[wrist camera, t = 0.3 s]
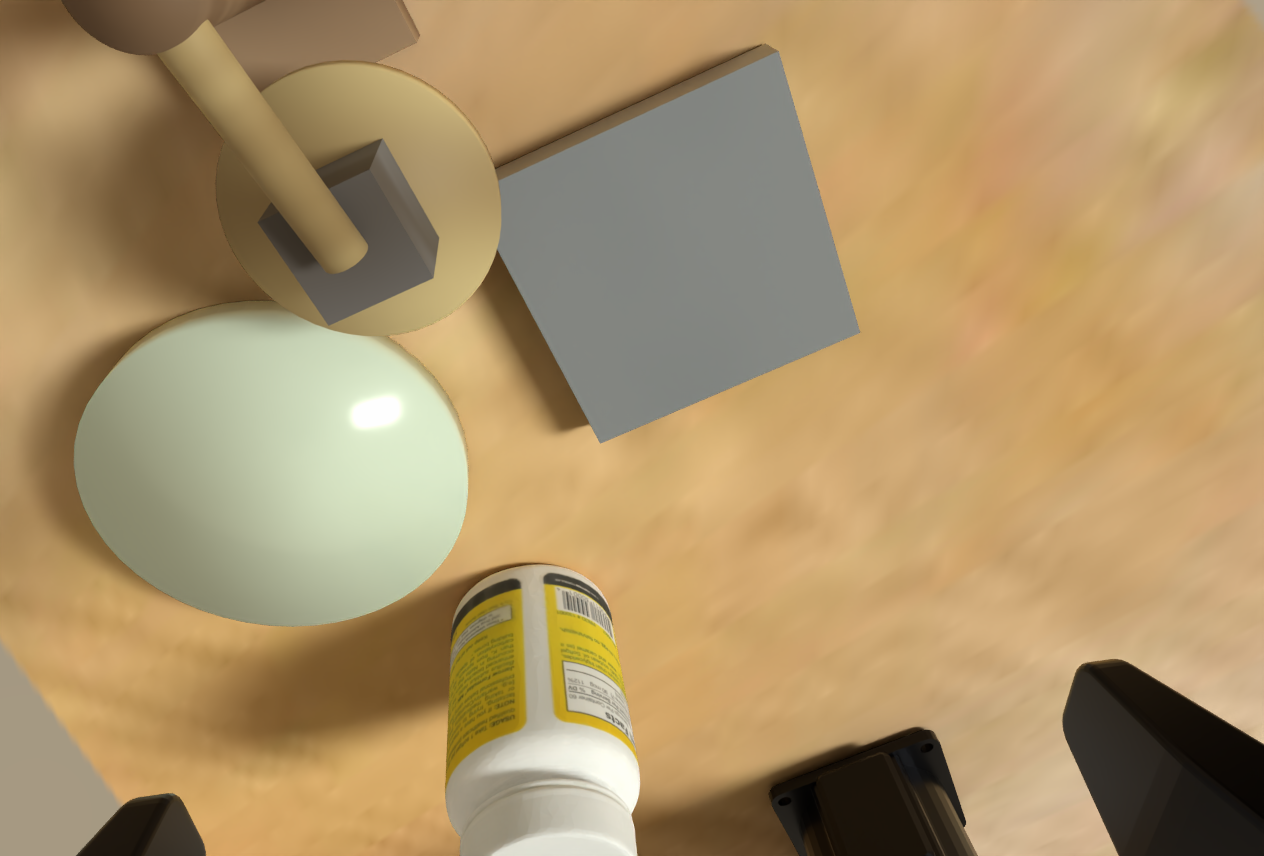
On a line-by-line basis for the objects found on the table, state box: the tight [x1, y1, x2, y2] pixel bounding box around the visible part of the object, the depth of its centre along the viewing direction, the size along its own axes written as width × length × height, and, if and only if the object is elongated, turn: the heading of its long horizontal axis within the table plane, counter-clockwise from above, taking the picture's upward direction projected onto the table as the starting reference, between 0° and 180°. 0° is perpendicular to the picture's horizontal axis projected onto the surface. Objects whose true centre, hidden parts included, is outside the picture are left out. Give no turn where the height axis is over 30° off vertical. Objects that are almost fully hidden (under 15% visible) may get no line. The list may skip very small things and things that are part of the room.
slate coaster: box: [495, 44, 860, 444], centre depth 20 cm, size 7×7×1 cm
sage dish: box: [74, 301, 469, 627], centre depth 22 cm, size 9×9×1 cm
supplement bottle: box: [445, 564, 640, 856], centre depth 23 cm, size 5×5×8 cm
